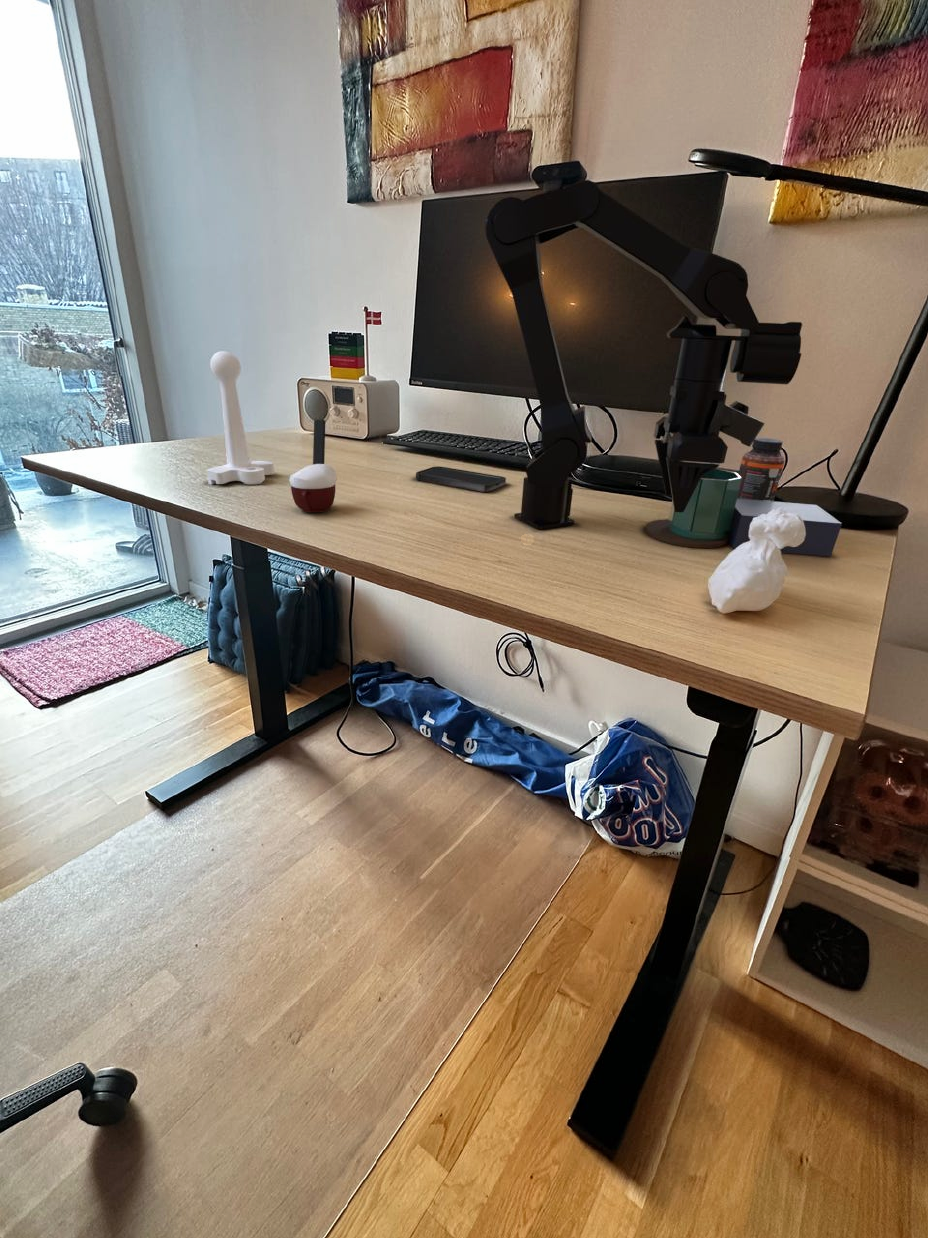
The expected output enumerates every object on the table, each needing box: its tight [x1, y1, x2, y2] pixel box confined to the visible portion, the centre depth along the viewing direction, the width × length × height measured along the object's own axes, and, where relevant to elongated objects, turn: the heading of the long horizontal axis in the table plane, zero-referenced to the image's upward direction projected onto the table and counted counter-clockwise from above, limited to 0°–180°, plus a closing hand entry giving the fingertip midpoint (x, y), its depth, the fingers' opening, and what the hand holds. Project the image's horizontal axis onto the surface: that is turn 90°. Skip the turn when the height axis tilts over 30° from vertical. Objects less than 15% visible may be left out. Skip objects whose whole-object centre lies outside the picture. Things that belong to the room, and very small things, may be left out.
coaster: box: [645, 518, 729, 549], centre depth 81 cm, size 11×11×1 cm
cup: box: [668, 467, 742, 540], centre depth 79 cm, size 8×8×8 cm
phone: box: [415, 465, 507, 493], centre depth 103 cm, size 8×1×15 cm
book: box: [727, 499, 843, 558], centre depth 79 cm, size 12×9×4 cm
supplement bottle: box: [737, 437, 785, 502], centre depth 90 cm, size 6×6×11 cm
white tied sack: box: [707, 508, 806, 614], centre depth 58 cm, size 12×8×11 cm
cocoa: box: [288, 418, 338, 513], centre depth 83 cm, size 10×6×12 cm, turn 153°
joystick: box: [205, 350, 276, 486], centre depth 94 cm, size 11×8×20 cm
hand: (673, 502), depth 79 cm, fingers open, 9 cm apart
